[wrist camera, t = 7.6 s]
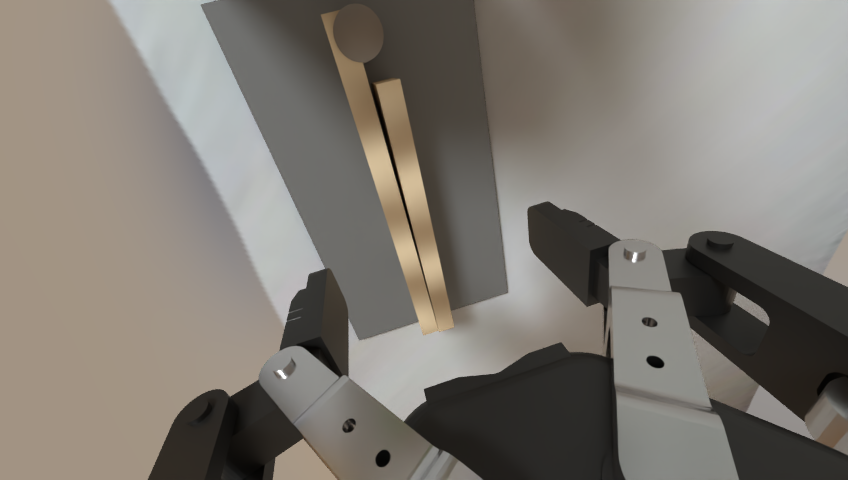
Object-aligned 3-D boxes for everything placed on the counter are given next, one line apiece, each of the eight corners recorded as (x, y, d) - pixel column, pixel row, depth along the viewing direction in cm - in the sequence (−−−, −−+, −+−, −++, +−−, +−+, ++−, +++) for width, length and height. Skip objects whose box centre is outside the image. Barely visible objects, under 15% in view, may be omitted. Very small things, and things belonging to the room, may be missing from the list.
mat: (204, 6, 18) (200, 4, 18) (463, -56, 20) (466, -59, 19) (359, 336, 32) (359, 340, 32) (505, 288, 34) (507, 292, 33)
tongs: (325, 22, 19) (319, 11, 16) (370, 11, 20) (375, -3, 16) (415, 306, 31) (423, 337, 28) (443, 297, 32) (455, 326, 28)
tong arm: (371, 82, 21) (376, 84, 18) (391, 77, 21) (400, 78, 18) (429, 303, 31) (439, 332, 28) (442, 299, 31) (454, 327, 28)
